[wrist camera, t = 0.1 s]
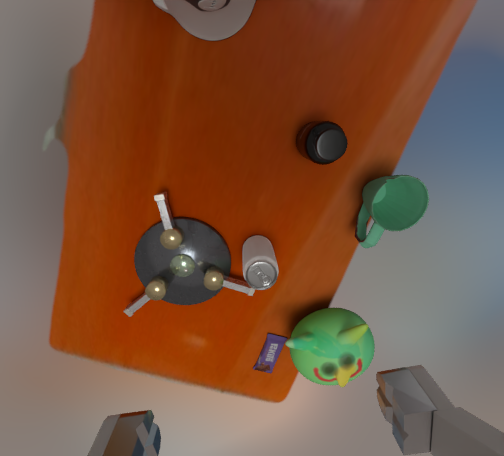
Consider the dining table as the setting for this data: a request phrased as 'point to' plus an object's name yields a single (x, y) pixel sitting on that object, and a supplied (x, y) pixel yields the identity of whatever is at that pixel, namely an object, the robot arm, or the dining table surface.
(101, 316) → the dining table surface
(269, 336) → the snack package
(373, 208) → the mug
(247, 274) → the can
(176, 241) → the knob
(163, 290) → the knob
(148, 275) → the levelling plate
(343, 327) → the toy bird
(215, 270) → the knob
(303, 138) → the supplement bottle
